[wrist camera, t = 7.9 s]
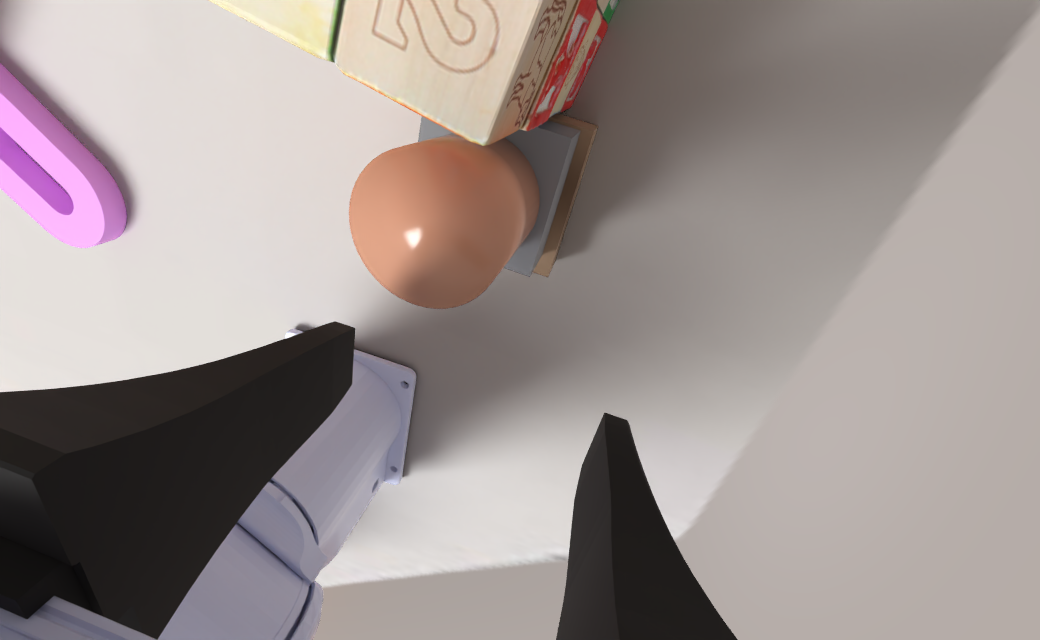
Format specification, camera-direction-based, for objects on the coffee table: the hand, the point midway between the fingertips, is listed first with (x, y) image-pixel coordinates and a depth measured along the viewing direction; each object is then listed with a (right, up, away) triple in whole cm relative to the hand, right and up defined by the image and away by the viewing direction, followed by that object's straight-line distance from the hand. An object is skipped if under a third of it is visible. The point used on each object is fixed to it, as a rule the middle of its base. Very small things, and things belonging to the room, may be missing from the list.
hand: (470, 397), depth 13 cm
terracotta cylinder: (0, +6, +3) cm, 7 cm away
